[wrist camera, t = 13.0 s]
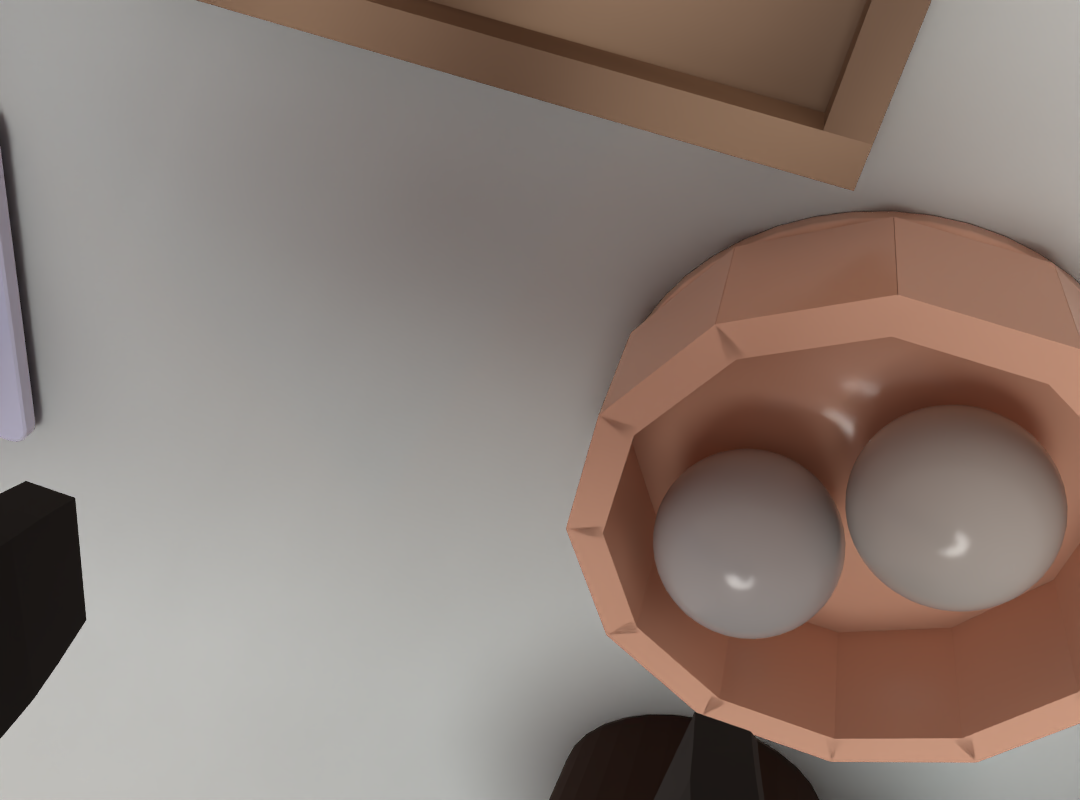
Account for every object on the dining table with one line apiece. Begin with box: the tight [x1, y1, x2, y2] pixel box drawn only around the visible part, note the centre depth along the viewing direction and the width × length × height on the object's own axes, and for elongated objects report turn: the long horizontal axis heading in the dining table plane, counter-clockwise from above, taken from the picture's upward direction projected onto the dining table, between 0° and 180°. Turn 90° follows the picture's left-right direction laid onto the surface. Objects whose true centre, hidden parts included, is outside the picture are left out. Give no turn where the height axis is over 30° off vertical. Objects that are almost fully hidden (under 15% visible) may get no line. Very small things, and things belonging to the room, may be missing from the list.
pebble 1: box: [653, 448, 846, 639], centre depth 17 cm, size 3×3×3 cm
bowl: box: [566, 211, 1080, 762], centre depth 17 cm, size 9×9×3 cm
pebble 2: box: [845, 405, 1068, 612], centre depth 16 cm, size 3×3×3 cm
